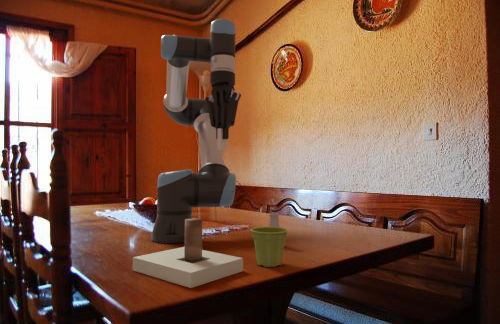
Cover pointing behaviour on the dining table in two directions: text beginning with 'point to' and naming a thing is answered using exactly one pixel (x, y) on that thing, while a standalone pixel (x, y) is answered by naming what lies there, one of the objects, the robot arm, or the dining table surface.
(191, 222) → the peg
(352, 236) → the dining table surface
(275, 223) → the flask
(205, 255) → the board
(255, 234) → the plant pot
